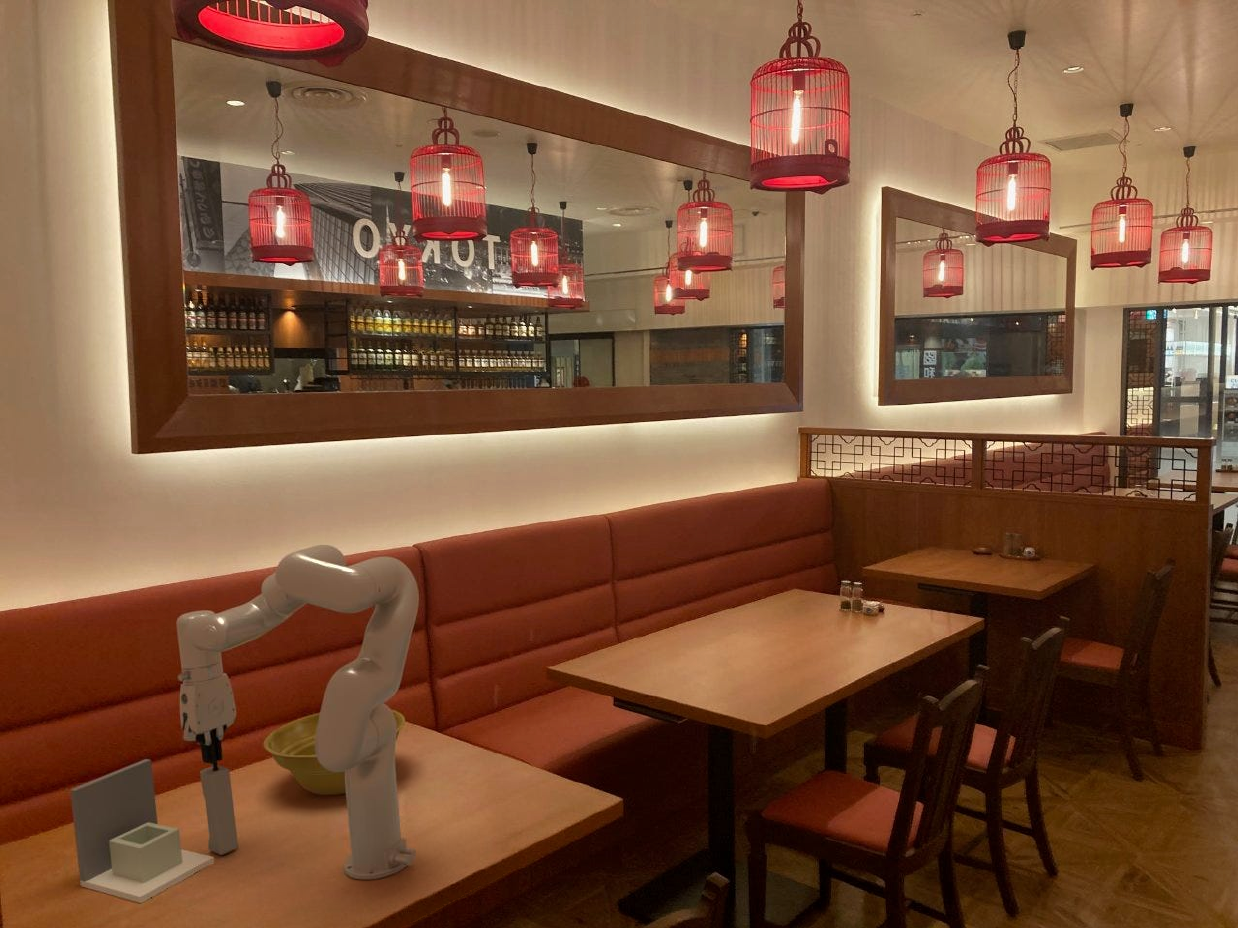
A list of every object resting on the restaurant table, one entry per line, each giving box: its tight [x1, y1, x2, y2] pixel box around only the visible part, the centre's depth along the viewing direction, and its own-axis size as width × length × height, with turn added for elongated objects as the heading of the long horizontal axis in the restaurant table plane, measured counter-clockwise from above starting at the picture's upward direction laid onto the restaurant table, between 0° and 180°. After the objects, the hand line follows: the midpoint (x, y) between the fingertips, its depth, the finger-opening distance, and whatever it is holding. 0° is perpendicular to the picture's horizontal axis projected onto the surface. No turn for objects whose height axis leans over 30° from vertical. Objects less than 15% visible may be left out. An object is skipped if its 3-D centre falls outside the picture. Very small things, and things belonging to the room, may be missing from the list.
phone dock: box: [69, 758, 215, 904], centre depth 182 cm, size 18×16×19 cm
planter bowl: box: [263, 708, 406, 796], centre depth 222 cm, size 32×32×13 cm
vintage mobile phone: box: [199, 730, 239, 856], centre depth 190 cm, size 4×5×25 cm
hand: (212, 760), depth 190 cm, fingers closed on vintage mobile phone, 1 cm apart
